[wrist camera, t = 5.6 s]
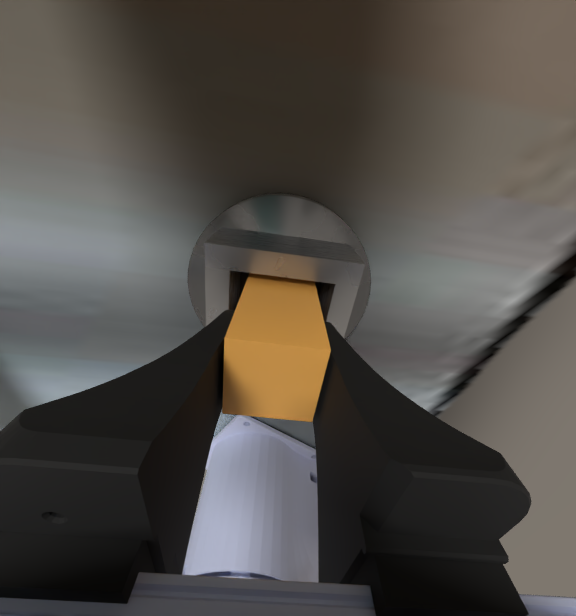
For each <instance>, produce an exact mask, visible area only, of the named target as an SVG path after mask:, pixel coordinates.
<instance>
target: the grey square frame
mask: <svg viewBox="0 0 576 616" xmlns="http://www.w3.org/2000/svg"><path fill="white" fill-rule="evenodd" d="M249 273H254V274H262V275H270V276H277V277H285V278H293V279H301V280H308V281H315V285H316V289H317V294H318V298H319V302H320V306H321V310H322V314H323V319H324V321H325V322H330V323H331V324H332V325H333V326H334V327H335V328H336V330H337V331H338V332H339V333H340V335H341V336H342V337H343V338H344V339H345V338H346V337H347V336H348V335H349V334H350V333H351V332H352V331H353V329H354V328H355V327H356V325H357V324H358V323H359V321H360V319H361V317H362V315H363V313H364V311H365V308H366V306H367V303H368V299H369V295H370V286H371V278H370V268H369V263H368V259H367V256H366V253H365V251H364V248H363V246H362V245H361V243H360V241H359V239H358V237H357V236H356V235H355V233H354V232H353V231H352V229H351V228H350V227H349V226H348V225H347V224H346V223H345V222H344V221H343V220H342V219H341V218H340V217H339V216H338V215H337V214H336V213H334V212H333V211H332V210H330V209H329V208H328V207H326V206H324V205H322V204H320V203H319V202H317V201H314V200H312V199H309V198H306V197H303V196H298V195H294V194H285V193H272V194H263V195H259V196H254V197H251V198H248V199H246V200H243V201H241V202H239V203H237V204H235V205H233V206H231V207H230V208H228V209H227V210H226V211H224V212H223V213H222V214H220V215H219V216H218V217H216V218H215V219H214V220H213V221H212V222H211V223H210V224H209V225H208V226H207V227H206V229H205V230H204V231H203V233H202V234H201V236H200V237H199V239H198V241H197V243H196V245H195V247H194V249H193V252H192V255H191V258H190V262H189V268H188V288H189V294H190V298H191V302H192V305H193V307H194V309H195V312H196V314H197V316H198V317H199V319H200V321H201V322H202V324H203V325H204V326H205V327H206V326H207V325H208V324H209V323H211V322H212V321H213V320H214V319H215V318H217V317H218V316H219V315H220V314H221V313H222V312H224V311H225V310H233V311H235V309H236V307H237V304H238V302H239V299H240V297H241V294H242V291H243V289H244V286H245V284H246V281H247V278H248V276H249Z"/></svg>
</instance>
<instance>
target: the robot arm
mask: <svg viewBox="0 0 576 616" xmlns="http://www.w3.org/2000/svg"><path fill="white" fill-rule="evenodd" d="M234 312H235V311H233V310H225V311H224V312H222V313H221V314H220V315H219V316H218V317H217V318H215V319H214V320H213V321H212V322H211V323H209V324H208V325H207V326H206V327H205V328H203V329H202V330H201V331H199V332H198V333H197V334H196V335H194V336H193V337H192V338H190V339H189V340H187V341H186V342H184V343H183V344H181V345H180V346H179V347H177V348H175V349H174V350H172V351H171V352H169V353H167V354H165V355H164V356H162V357H160V358H158V359H156V360H155V361H153V362H151V363H149V364H147V365H144V366H142V367H140V368H138V369H136V370H134V371H132V372H130V373H127V374H125V375H123V376H121V377H118V378H116V379H113V380H111V381H109V382H106V383H104V384H101V385H98V386H96V387H93V388H90V389H88V390H85V391H82V392H79V393H76V394H73V395H70V396H67V397H64V398H61V399H58V400H54V401H51V402H48V403H45V404H42V405H39V406H35V407H32V408H29V409H25V410H24V411H23V412H21V413H20V414H19V415H18V416H17V417H16V418H15V419H14V420H12V421H11V422H10V423H9V424H8V425H7V426H6V427H5V428H4V429H3V430H2V431H1V432H0V616H576V597H560V596H542V595H524V594H518V592H517V591H516V588H515V587H514V585H513V583H512V581H511V579H510V577H509V575H508V573H507V571H506V569H505V568H504V566H503V564H506V563H507V562H508V555H507V554H506V552H505V550H504V548H503V547H502V545H501V543H500V541H499V539H500V538H501V537H502V536H503V535H504V534H506V533H507V532H508V531H509V530H510V529H512V528H513V527H514V526H515V525H516V524H518V523H519V522H520V521H521V520H522V519H523V518H524V517H525V516H526V515H527V513H528V511H529V508H530V505H531V498H530V494H529V492H528V491H527V489H526V488H525V486H524V485H523V484H522V482H521V481H520V480H519V478H518V477H517V476H516V474H515V473H514V471H513V470H512V469H511V467H510V466H509V465H508V463H507V462H506V460H505V459H504V458H503V456H502V455H501V454H500V453H499V452H497V451H495V450H493V449H491V448H489V447H488V446H486V445H484V444H482V443H480V442H478V441H477V440H475V439H473V438H471V437H469V436H467V435H465V434H464V433H462V432H460V431H458V430H456V429H455V428H453V427H451V426H450V425H448V424H446V423H445V422H443V421H441V420H440V419H438V418H437V417H435V416H433V415H432V414H430V413H429V412H427V411H426V410H424V409H423V408H421V407H420V406H418V405H417V404H416V403H414V402H413V401H411V400H410V399H409V398H407V397H406V396H404V395H403V394H402V393H400V392H399V391H398V390H397V389H395V388H394V387H393V386H392V385H390V384H389V383H388V382H387V381H386V380H384V379H383V378H382V377H381V376H380V375H379V374H377V373H376V372H375V371H374V370H373V369H372V368H371V367H370V366H369V365H368V364H367V363H366V362H365V361H364V360H363V359H362V358H361V357H360V356H359V355H358V354H357V353H356V352H355V351H354V350H353V348H352V347H351V346H350V345H349V344H348V343H347V342H346V340H345V339H344V338H343V337H342V336H341V335H340V333H339V332H338V331H337V330H336V328H335V327H334V326H333V325H332V324H331V323H330V322H325V321H324V323H325V327H326V331H327V335H328V340H329V344H330V348H331V352H330V356H329V360H328V364H327V367H326V371H325V375H324V379H323V383H322V386H321V390H320V394H319V398H318V402H317V405H316V409H315V413H314V417H313V425H314V433H315V443H316V449H314V448H312V447H310V446H308V445H306V444H304V443H302V442H300V441H298V440H296V439H294V438H292V437H290V436H288V435H286V434H284V433H282V432H280V431H278V430H276V429H274V428H272V427H270V426H268V425H266V424H264V423H262V422H260V421H258V420H256V419H254V418H252V417H250V416H244V415H236V416H235V417H234V418H233V419H232V420H231V421H230V422H229V423H228V424H227V425H226V426H225V427H224V428H223V429H222V430H221V431H220V432H219V433H218V434H217V435H216V436H215V437H214V438H213V435H214V431H215V428H216V425H217V421H218V418H219V416H220V413H221V410H222V405H223V371H224V338H225V335H226V333H227V330H228V328H229V325H230V322H231V320H232V317H233V315H234ZM205 469H207V474H206V478H205V481H204V485H203V488H202V493H201V496H200V500H199V504H198V507H197V503H198V498H199V494H200V490H201V485H202V481H203V477H204V472H205ZM196 507H197V511H196ZM195 512H196V515H195ZM194 516H195V518H194ZM193 521H194V522H193ZM192 525H193V526H192Z"/></svg>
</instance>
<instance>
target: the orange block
mask: <svg viewBox="0 0 576 616" xmlns="http://www.w3.org/2000/svg"><path fill="white" fill-rule="evenodd" d="M330 352H331V348H330V344H329V340H328V335H327V331H326V327H325V323H324V319H323V314H322V310H321V306H320V302H319V298H318V294H317V289H316V285H315V281H308V280H301V279H293V278H285V277H277V276H270V275H262V274H254V273H249V276H248V278H247V281H246V284H245V286H244V289H243V291H242V294H241V297H240V299H239V302H238V304H237V307H236V309H235V312H234V315H233V317H232V320H231V322H230V325H229V328H228V330H227V333H226V335H225V338H224V371H223V405H222V413H223V414H233V415H244V416H254V417H265V418H275V419H285V420H296V421H306V422H312V421H313V417H314V413H315V409H316V405H317V402H318V398H319V394H320V390H321V386H322V383H323V379H324V375H325V371H326V367H327V364H328V360H329V356H330Z"/></svg>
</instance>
